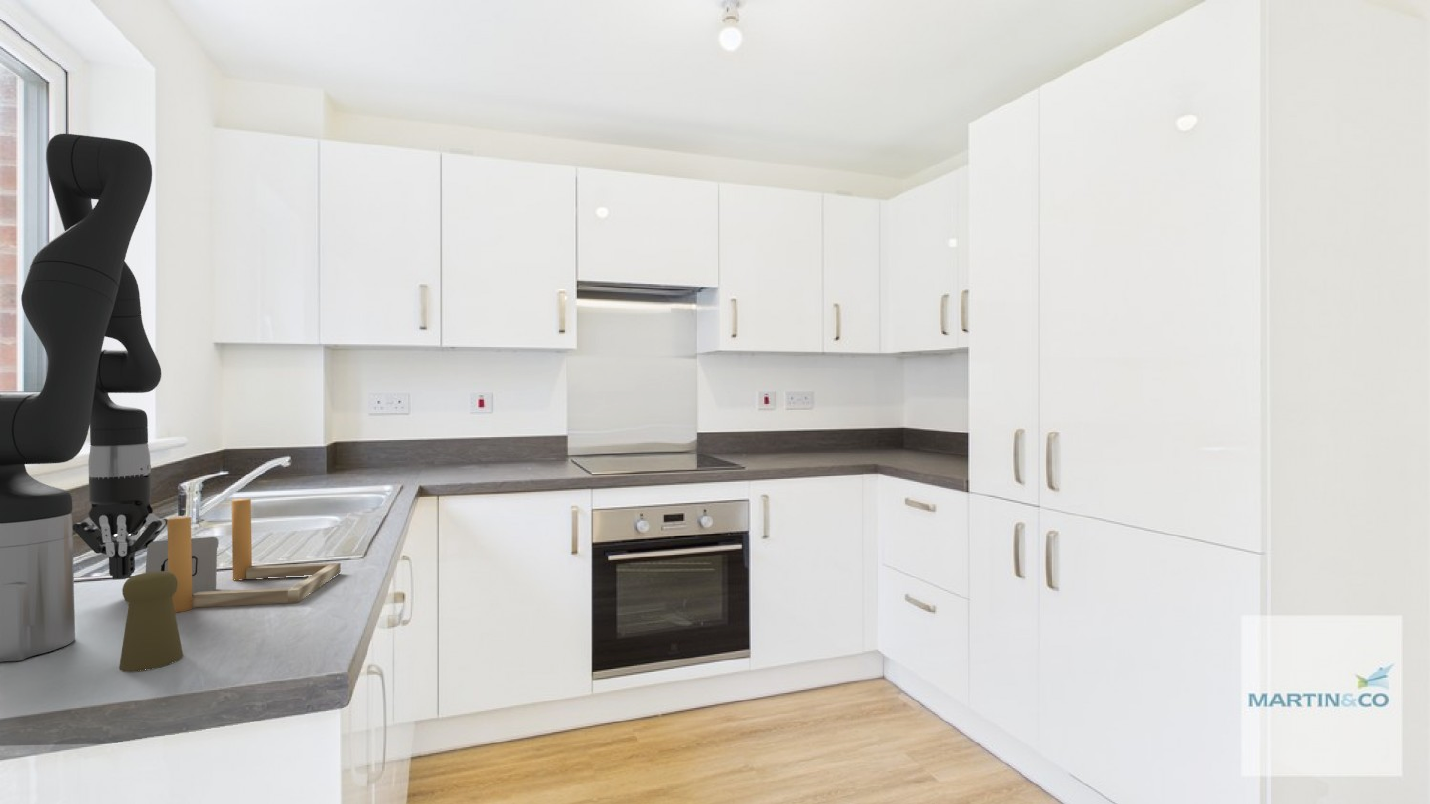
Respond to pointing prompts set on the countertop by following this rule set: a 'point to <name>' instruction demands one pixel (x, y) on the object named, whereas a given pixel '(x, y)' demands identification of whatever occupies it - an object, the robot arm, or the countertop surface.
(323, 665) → the countertop surface
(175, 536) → the post left
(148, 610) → the cork
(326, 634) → the countertop surface
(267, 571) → the wooden square frame
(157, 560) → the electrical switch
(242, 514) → the post right
